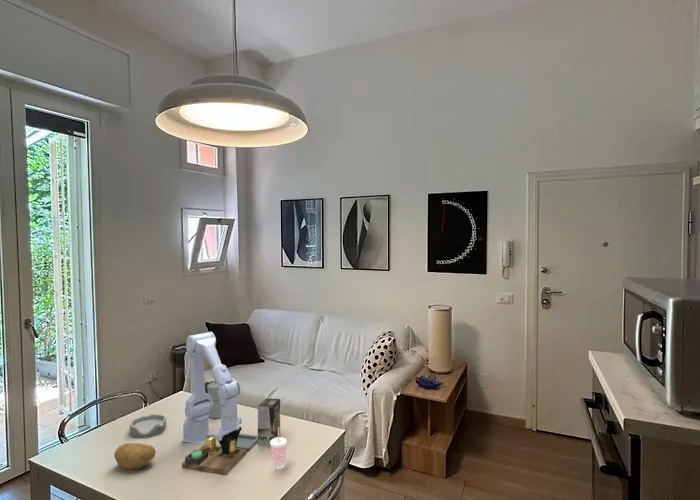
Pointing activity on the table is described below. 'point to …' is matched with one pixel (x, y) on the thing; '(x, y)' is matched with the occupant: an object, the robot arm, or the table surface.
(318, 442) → the table surface
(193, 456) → the button
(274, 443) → the beverage cup
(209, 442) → the seated billet
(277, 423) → the coffee box
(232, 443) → the cylinder
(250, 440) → the tote
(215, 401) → the coffee maker
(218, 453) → the pallet board
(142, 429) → the dish
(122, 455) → the potato
